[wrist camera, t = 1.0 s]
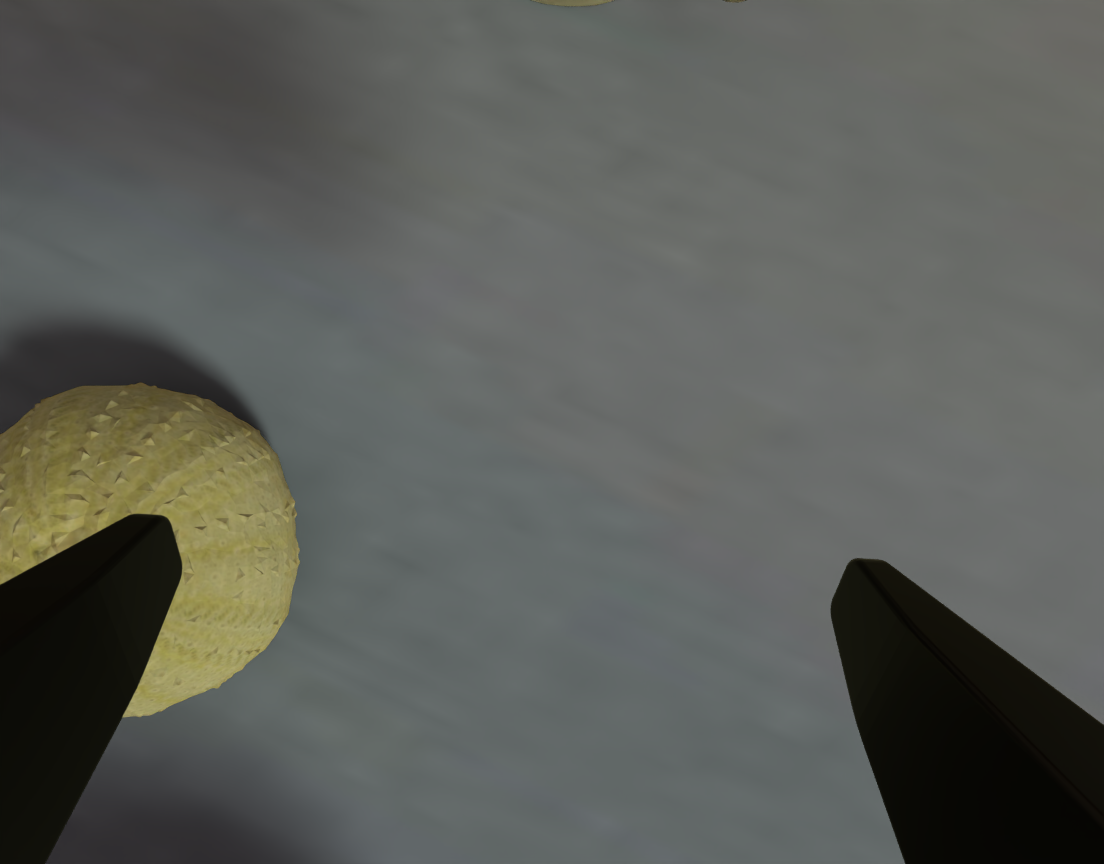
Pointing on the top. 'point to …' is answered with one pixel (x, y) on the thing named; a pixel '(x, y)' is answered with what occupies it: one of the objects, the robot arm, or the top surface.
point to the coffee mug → (589, 2)
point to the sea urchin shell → (162, 489)
